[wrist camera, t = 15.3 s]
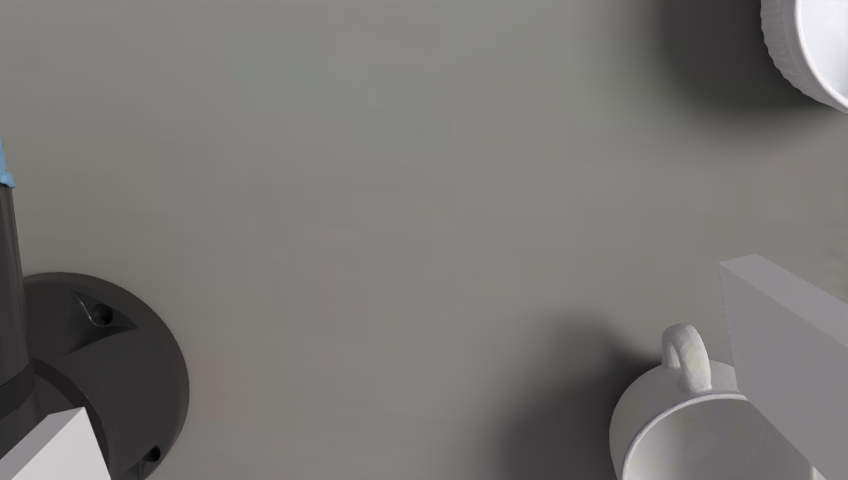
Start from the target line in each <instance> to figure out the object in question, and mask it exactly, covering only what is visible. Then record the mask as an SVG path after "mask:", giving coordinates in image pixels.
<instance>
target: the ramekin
mask: <svg viewBox="0 0 848 480" xmlns="http://www.w3.org/2000/svg"><path fill="white" fill-rule="evenodd" d="M760 16H761V20H762V25H761V29H762V31H763V33H764V43H765V44H766V46H767V47H768V53H769V55H770V56H771V58H772V59H773V62H774V65H775V67H777V68H778V69H779V70H780V71H781V73H782V75H783V77H784V78H786V79H787V80H789V81H790V83H791V84H792V86H794V87H796V88H798V89H800V91H801V92H802V93H803V94H805V95H807V96H810V97H812V98H813V99H815V100H816V101H819V102H821V103H824V104H827V105H830V106H832V107H834V108H836V109H838V110H839V111H841V112H843V113H845V114H847V115H848V0H761V12H760Z"/></svg>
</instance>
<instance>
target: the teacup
mask: <svg viewBox="0 0 848 480" xmlns="http://www.w3.org/2000/svg"><path fill="white" fill-rule="evenodd" d="M662 348H663V357H662V365H660V366H657V367H655V368H653V369H651V370H649V371H647V372H646V373H644V374H643V375H641V376H640V377H639V378H638V379H636V380H635V381H634V382H633V383H632V384H631V385H630V386H629V387H628V388H627V389H626V391H625V392H624V393H623V395H622V396H621V398H620V400H619V401H618V403H617V405H616V407H615V409H614V412H613V416H612V419H611V424H610V431H609V443H610V452H611V458H612V462H613V465H614V469H615V473H616V476H617V480H817V469H816V468H815V467H814V466H813V465H812V464H811V463H810V462H809V461H808V460H807V459H806V458H805V457H804V456H803V455H802V454H801V453H800V452H799V451H798V450H797V449H796V448H795V447H794V446H793V445H792V444H791V443H790V442H789V441H788V440H787V439H786V438H785V437H784V436H783V435H782V434H781V433H780V432H779V431H778V430H777V429H776V428H775V427H774V426H773V425H772V424H771V423H770V422H769V421H768V419H767V418H766V417H765V416H764V415H763V414H762V413H761V412H760V411H759V410H758V409H757V408H756V407H755V406H754V405H753V404H752V403H751V402H750V401H749V400H748V399H747V398H746V397H745V396H744V395H743V394H742V393H741V392H740V391H739V390H738V388H737V382H736V376H735V369H734V368H733V367H731V366H729V365H727V364H724V363H721V362H717V361H713V360H708V356H707V353H706V350H705V347H704V344H703V342H702V340H701V337H700V336H699V334H698V332H697V331H696V330H695V328H694V327H692V326H691V325H690V324H677V325H674V326H671V327H669V328H667V329H666V330H665V331H664V333H663V338H662Z"/></svg>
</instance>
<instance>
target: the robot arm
mask: <svg viewBox="0 0 848 480" xmlns="http://www.w3.org/2000/svg"><path fill="white" fill-rule="evenodd" d="M11 188H15V181H14V179H13V177H12V176H11V174H9V173H8V172H7V166H6V161H5V156H4V151H3V145H2V140H1V135H0V480H145V479H146V478H147V477H148V476H150V475H151V474H152V473H153V471H154V470H155V469H156V468H157V467H158V466H159V465H160V464H161V462H162V461H163V459H164V458H165V457H166V455H167V454H168V452H169V451H170V449H171V448H172V446H173V445H174V443H175V441H176V440H177V438H178V436H179V434H180V432H181V430H182V427H183V425H184V422H185V419H186V415H187V410H188V404H189V380H188V373H187V368H186V364H185V361H184V358H183V355H182V353H181V350H180V348H179V346H178V344H177V342H176V340H175V338H174V336H173V335H172V333H171V332H170V330H169V329H168V327H167V326H166V325H165V323H164V322H163V321H162V320H161V318H160V317H159V316H158V315H157V314H156V313H155V312H154V311H153V310H152V309H151V308H150V307H149V306H148V305H146V304H145V303H144V302H143V301H142V300H140V299H139V298H138V297H136V296H135V295H133V294H132V293H130V292H128V291H127V290H125V289H123V288H121V287H119V286H117V285H115V284H113V283H110V282H108V281H105V280H102V279H99V278H96V277H92V276H88V275H83V274H77V273H63V272H57V273H44V274H38V275H33V276H29V277H26V278H23V277H22V269H21V261H20V253H19V245H18V237H17V229H16V221H15V213H14V205H13V197H12V189H11ZM718 267H719V273H720V279H721V286H722V292H723V299H724V305H725V311H726V318H727V324H728V331H729V337H730V344H731V350H732V356H733V363H734V369H735V376H736V382H737V388H738V390H739V391H740V392H741V393H742V394H743V395H744V396H745V397H746V398H747V399H748V400H749V401H750V402H751V403H752V404H753V405H754V406H755V407H756V408H757V409H758V410H759V411H760V412H761V413H762V414H763V415H764V416H765V417H766V418H767V419H768V421H769V422H770V423H771V424H772V425H773V426H774V427H775V428H776V429H777V430H778V431H779V432H780V433H781V434H782V435H783V436H784V437H785V438H786V439H787V440H788V441H789V442H790V443H791V444H792V445H793V446H794V447H795V448H796V449H797V450H798V451H799V452H800V453H801V454H802V455H803V456H804V457H805V458H806V459H807V460H808V461H809V462H810V463H811V464H812V465H813V466H814V467H815V468H816V469H817V470H818V471H819V472H820V473H821V474H822V475H823V476H824V477H825V478H826V479H827V480H848V304H846V303H845V302H843V301H841V300H839V299H837V298H836V297H834V296H832V295H830V294H828V293H827V292H825V291H823V290H821V289H819V288H818V287H816V286H814V285H812V284H810V283H809V282H807V281H805V280H803V279H801V278H799V277H798V276H796V275H794V274H792V273H790V272H789V271H787V270H785V269H783V268H781V267H780V266H778V265H776V264H774V263H772V262H771V261H769V260H767V259H765V258H763V257H761V256H760V255H758V254H753V255H749V256H744V257H740V258H736V259H731V260H727V261H722V262H718Z"/></svg>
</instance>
